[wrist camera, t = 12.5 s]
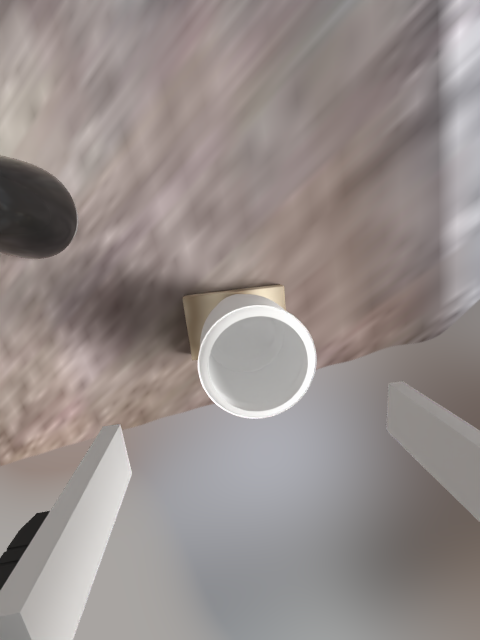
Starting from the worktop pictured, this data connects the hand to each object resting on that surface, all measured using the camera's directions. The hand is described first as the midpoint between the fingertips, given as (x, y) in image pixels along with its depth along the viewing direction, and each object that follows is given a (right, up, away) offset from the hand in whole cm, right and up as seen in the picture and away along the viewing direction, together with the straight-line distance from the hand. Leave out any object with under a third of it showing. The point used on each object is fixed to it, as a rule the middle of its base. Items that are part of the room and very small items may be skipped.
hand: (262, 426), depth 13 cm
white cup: (-1, +5, +24) cm, 25 cm away
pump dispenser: (-26, +18, +21) cm, 38 cm away
